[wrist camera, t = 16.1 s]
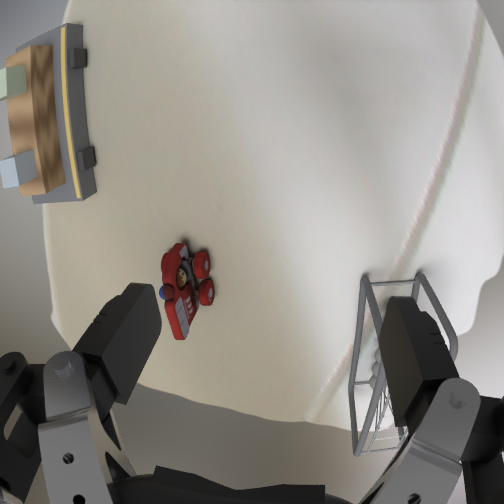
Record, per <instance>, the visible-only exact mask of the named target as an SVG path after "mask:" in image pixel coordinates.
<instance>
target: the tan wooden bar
mask: <svg viewBox="0 0 504 504" xmlns="http://www.w3.org/2000/svg"><path fill="white" fill-rule="evenodd" d="M5 60H6V62H5V63H6V64H5V66H6V67H12V66H24V65H26V78H27V92H25V93H23V94H20V95H18V96H16V97H13V98H11V99H7V108H8V119H9V128H10V136H11V143H12V150H13V155H15V154H18V153H22V152H26V151H30V150H33V151H34V157H35V163H36V169H37V174H38V177H36V178H34V179H32V180H30V181H28V182H26V183H24V184H22V185H20V186H19V188H20V192H21V196H29V195H39V194H46V193H48V192H50V191H52V190H53V189H55V188H57V187H59V186H61V185H63V184H64V183H66V180H65V175H64V169H63V163H62V157H61V150H60V143H59V136H58V127H57V118H56V108H55V95H54V77H53V46H35V45H30V46H28V47H27V48H25V49H23V50H21V51H19V52H17V53H15V54H13V55H12V56H10V57H8V58H6V59H5Z"/></svg>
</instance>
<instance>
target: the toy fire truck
mask: <svg viewBox="0 0 504 504" xmlns="http://www.w3.org/2000/svg"><path fill="white" fill-rule="evenodd" d="M161 270H162V274H163V275H162V282H163V286H162V287H161V288H160V290H159V295H160V297H161V298H162V299H164V300H165V304H164V306H165V310H166V314H167V317H168V320H169V323H170V326H171V329H172V332H173V335H174V338H175V339H176V340H185V339H186V337H187V335H188V333H189V327H190V325H191V322H192V320H193V318H194V316H195V314H196V312H197V310H198V308H199V301H200V304H201V305H203V306H210V305H212V303H213V300H214V286H213V283H212V281H210V280H202V281H201V282H200V285H199V290H197V287H196V286H195V283H194V278H193V274H195V276H196V278H198V279H206V278H207V277H208V275H209V272H210V259H209V255H208V253H207V252H197V253H196V255H195V257H191V258H189V255H188V250H187V246H186V244H184V243H176V244H175V245H174V246H173V248H172V249H171V250H170V252H168V253H165V254H164V255H163V257H162V261H161ZM198 296H199V301H198Z"/></svg>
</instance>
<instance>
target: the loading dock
mask: <svg viewBox="0 0 504 504" xmlns="http://www.w3.org/2000/svg"><path fill="white" fill-rule="evenodd" d="M82 27H83V26H82V25H76V24H70V23H66V24H64V25H61V26H59V27H57V28H55V29H53V30H51V31H48V32H46V33H44V34H42V35H40V36H38V37H36V38H34V39H32V40H30V41H28V42H26V43H24V44H23V45H21V46H19V47H17V48H16V53H17V52H19V51H21V50H23V49H25V48H27V47H28V46H30V45H35V46H53V77H54V95H55V108H56V118H57V127H58V136H59V143H60V150H61V157H62V163H63V169H64V175H65V180H66V183H64V184H63V185H61V186H59V187H57V188H55V189H53V190H52V191H50V192H48V193H46V194H39V195H32V199H33V203H34V204H39V203H54V202H69V201H84V200H85V199H87V198H88V197H90V196H91V195H93V194H94V193H96V192H97V190H96V185H95V179H94V173H93V167H94V166H95V159H94V152H93V147H91V148H90V146H89V138H88V129H87V120H86V109H85V97H84V81H83V68H84V67H86V49H82Z"/></svg>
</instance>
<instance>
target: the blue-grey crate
mask: <svg viewBox="0 0 504 504" xmlns="http://www.w3.org/2000/svg"><path fill="white" fill-rule="evenodd" d="M0 172H1V177H2V182H3V187H4V188H9V187H15V186H20V185H22V184H24V183H26V182H28V181H30V180H32V179H34V178H36V177H38V174H37V169H36V163H35V157H34V151H33V150H30V151H26V152H22V153H18V154H15V155H13V156H10V157H8V158H5V159H3V160H1V161H0Z"/></svg>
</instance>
